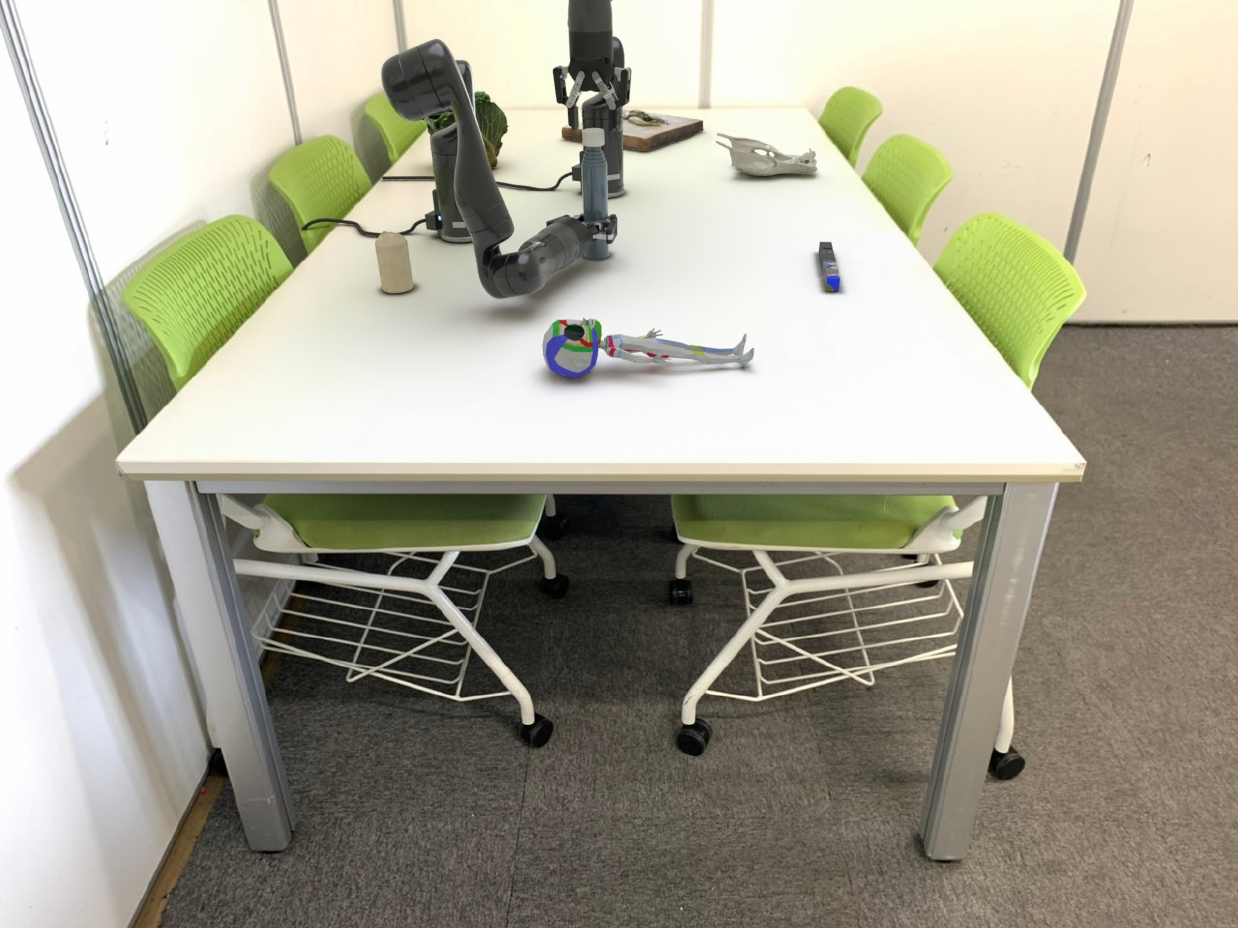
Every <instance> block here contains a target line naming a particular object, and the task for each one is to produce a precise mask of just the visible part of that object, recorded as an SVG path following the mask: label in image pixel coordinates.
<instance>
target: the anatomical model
mask: <svg viewBox="0 0 1238 928" xmlns="http://www.w3.org/2000/svg"><path fill="white" fill-rule="evenodd" d="M716 136H717V137H722V138H725V139H727V140H729V141H730V143H731V144H730V145H731V146H730V145H727V144H725V143H724V142H721V141H718V140H715V143H716V144H717V145H719V146H721V147H723V148H725V149H727V150H728V151H729V156H730V159H731V167H732V168H733V167H734V168H736V169H735V170H736V171H738V172H739V173H743V172H744V173H746V174H748V175H750V176H752V177H753V176H754V177H769V176H774V175H779V174H801V175H803V174H804V175H807V174H812V173H817V171H818V167H817V164H818V161H817V158H816V156H817V155H816V154H817V153H816V151H815V150H812V149H811V147H809V148H808V149H809V150H808V151H809V152H804V153H803V154H801V155H799V154H789V153H788V154H787V153H783V152H781V151H779V150H778V148H776V147H774V145H772V144H771V145H770V144H769V143H765V142H764V141H761V140H758V139H753V138H749V137H742V136H733V135H729V134H725V133H722V132H721V133H720V132H717V133H716ZM757 150H759V151H764V152H765V153H766V154H765V155H763V154H760V153H758V152H756V151H757ZM770 153H772V154H773V156H772V155H771V154H770ZM815 158H816V159H815Z"/></svg>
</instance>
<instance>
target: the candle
mask: <svg viewBox="0 0 1238 928" xmlns="http://www.w3.org/2000/svg"><path fill="white" fill-rule="evenodd" d="M380 233H381V234H380V236H379V237H378V236H377V238H376V240H375V241H374V247H375V254H376V259H377V266H378V271H379V277H380V283H381V288H382V291H383V292H385V293H388V294H401V293H405V292H406V293H407V292H409V291H411V290H413V288H414V277H413V271H412V263H411V257H410V250H409V243H408V239H407V237H406V236H405V235H401V234H399V232H394V231H387V230H383V231H382V232H380Z"/></svg>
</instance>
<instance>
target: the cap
mask: <svg viewBox="0 0 1238 928" xmlns="http://www.w3.org/2000/svg"><path fill="white" fill-rule="evenodd" d="M582 132H583V133H582V139H583V142H582V146H583V145H584V146H587V147H598V146H603V145H604V143H605V138H604V130H603V129H600V128H588V129H584V130H583V131H582Z"/></svg>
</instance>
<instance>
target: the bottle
mask: <svg viewBox="0 0 1238 928" xmlns="http://www.w3.org/2000/svg"><path fill="white" fill-rule="evenodd" d="M586 148H587V149H586V150H585V154H584V157H583V160H582V164H581V171H582V194H581V196H582V213H583V222H584V221H586V222H589V221H592V220H595V219H598V220H603V219H605V218H607V217H608V216H609V198H608V185H607V163H606V160H605V156H604V153H602V149H601V146H598V147H587V146H586ZM602 230H604V225H603V226H602ZM609 256H610V244H606V241H605V240H604V239H598V241H597V242H594V243H591V244H590V246H589V248H588V250H587V251H586V253H585V254H584V258H586V259H588V260H597V261H598V260H604V259H606V258H609Z"/></svg>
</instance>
